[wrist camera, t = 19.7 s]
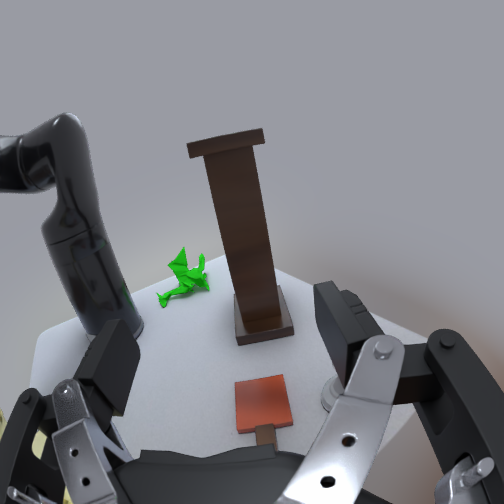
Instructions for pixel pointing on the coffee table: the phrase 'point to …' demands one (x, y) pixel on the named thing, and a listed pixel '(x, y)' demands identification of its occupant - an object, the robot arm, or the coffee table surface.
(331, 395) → the chess piece
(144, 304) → the coffee table surface
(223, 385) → the coffee table surface
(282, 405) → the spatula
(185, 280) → the figurine
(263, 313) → the wooden pedestal stand
